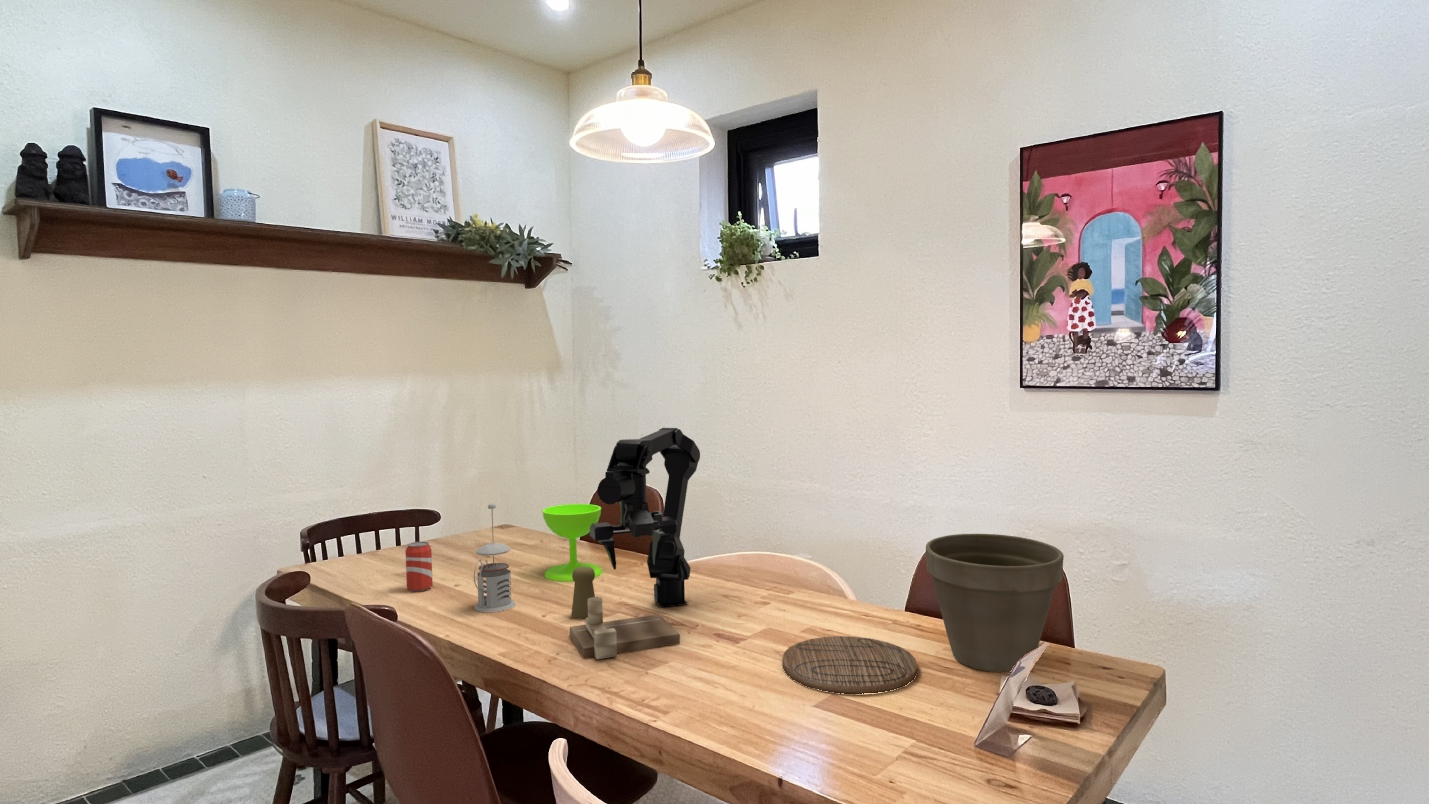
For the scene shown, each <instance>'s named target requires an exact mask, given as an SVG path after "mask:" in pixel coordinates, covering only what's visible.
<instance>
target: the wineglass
mask: <svg viewBox="0 0 1429 804" xmlns="http://www.w3.org/2000/svg"><path fill="white" fill-rule="evenodd" d="M601 511H602V507H601V506H599V505H595V504H588V503H570V504H561V505H554V506H553V505H552V506H549V507H546V508H543V509H542V517H543V520H544V522H545V524H546V526H547V528H549V530H550V531H551V532H552V533H554V534H556V535H557V536H559V537H562V538H564V539H568V540H569V542H568V543H569V545H568V546H569V561H568V563H563V564H558V565H555V566H552V567H550V568H548V569H547V570H546V571H545V572H544V578H545V577H546V578H545V579H547V580H550V581H555V582H574V581H573V578H572V573H573V571H574V569H576V568H578V567H591V568H593V570H594V572H595V578H597V577H600V576H601V575H602V574H603V572H604V571H603V569H602V567H600V566H599V565H598V564H594V563H586V562H579V561H578V557H577V556H578V554H577V539H578V538H581V537H583V536H586V535H588V534H590V526H591V525H592V523H599V520H600V517H601V514H602V513H601Z"/></svg>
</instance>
